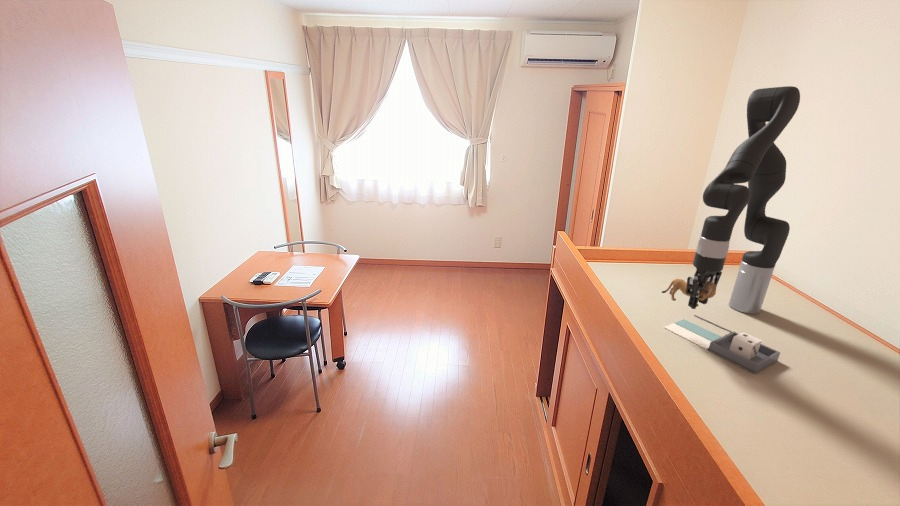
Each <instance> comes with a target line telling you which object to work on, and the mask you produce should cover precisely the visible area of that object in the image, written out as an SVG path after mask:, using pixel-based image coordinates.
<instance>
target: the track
mask: <svg viewBox="0 0 900 506" xmlns="http://www.w3.org/2000/svg"><path fill="white" fill-rule="evenodd" d="M693 316H694V317H696V318H698V319H701V320H702V321H705V322H707V323H709V324H712V325H714V326H715V327H719V328H721V329H722V330H725V331H727V332H729V333H731V332H733V331H732V330H731V329H727V328H725V327H723V326H721V325H719V324H717V323H714V322H712V321H710V320H707V319H705V318H703V317H700V316H698V315H696V314H693ZM663 328H664V329H665V328H666V329H665V330H667V331H669V332H671V333H674V334H675V335H677V336H680V337H681V338H683V339H685V340H687V341H689V342H691V343H693V344H694V345H697V346H699V347H701V348H703V349H705V350H708V349H709V346H710V342H712V341H714V340H716V339H719V338H721V337H722V336H721V335H719V334H716V333H715V332H712V331H711V330H708V329H706V328H704V327H702V326H700V325H698V324H696V323H694V322H691V321H689V320H687V319H685V318H683V319H680V320H679V321H676V322H673V323H670V324H668V325H666V326H664V327H663Z"/></svg>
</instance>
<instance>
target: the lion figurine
mask: <svg viewBox="0 0 900 506" xmlns="http://www.w3.org/2000/svg"><path fill="white" fill-rule="evenodd" d="M698 286H699V287H702V286H700V285H698ZM717 287H718V285H717V286H715V284H714V283H713V282H708V283H707V285H706V287H705V289H704V291H702V292H701V294H700V296H699V300H701V301H703V300H705V299H708V300H709V299H711V298H714V296H715V295H716V291H717ZM686 288H687V281H685V280H684V279H681V278H675V279H673V280H672V281H671V282H670V285H669V286H668V287H667V288H666V290H662V291H661V293H662V294H665V293H666V292H669V295H670V296H671V301H674V302H676V301H677V299H676V298H675V294H676V293H677V291H680V292H681V293H682V294H684V295H685V296H686V297H690V295H688V294H686ZM690 290H691V289H690ZM697 292H698V289H697ZM699 300H698V301H699ZM697 307H699V304H697ZM697 307H696V308H697ZM690 308H691V309H692V310H696V308H692V307H690Z"/></svg>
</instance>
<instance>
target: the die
mask: <svg viewBox="0 0 900 506" xmlns="http://www.w3.org/2000/svg"><path fill="white" fill-rule="evenodd" d="M762 341H763V340H762V339H760V338H757V337H755V336H753V335H750V334H748V333H745V332H743V331H742V332H740V333H738V335H736V336H734V337H733V340H732V343H731V346H730V351H732V352H734V353H736V354H738V355H740V356H742V357H744V358H747V359H749V360H750V359H752V358H753V357H755V356H757V353H758V350H759V347H760V344H762Z"/></svg>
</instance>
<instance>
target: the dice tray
mask: <svg viewBox="0 0 900 506" xmlns="http://www.w3.org/2000/svg"><path fill="white" fill-rule="evenodd" d="M738 334H739V333H738V332H736V331H732V332H729V333H727V334H724V335H723V336H721V338H719V339H716V340H714V341H712V342H710V346H709V349H707V351H709V352H710V353H713V354H714V355H716V356H718V357H720V358H722V359H724V360H727V361H728V362H729V363H732V364H734V365H736V366H738V367H740V368H742V369H744V370H746V371H748V372H750V373H752V374H754V375H756V374H757V373H759V372H762V371H763V370H764V369H766V368H767V367H770V366H771V365H773V364H774V363H776V362H777V361H778V360H779V357H780V354H781V352H780V351H778V350H776V349H773V348H771V347H769V346H767V345H765V344H763V343H761V344H760V347H759V350H758V353H757V356H755V357H753V358H752V359H750V360H749V359H747V358H744V357H742V356H740V355H738V354H736V353H734V352H732V351H730V346H731V343H732V340H733V337H734V336H736V335H738Z"/></svg>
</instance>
